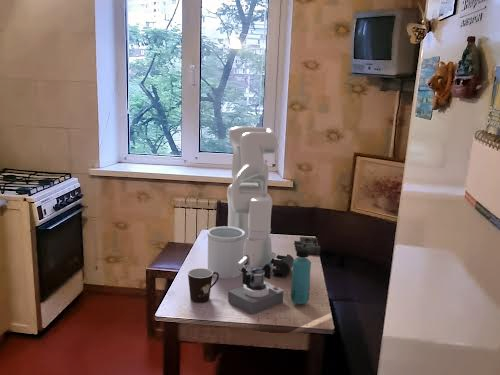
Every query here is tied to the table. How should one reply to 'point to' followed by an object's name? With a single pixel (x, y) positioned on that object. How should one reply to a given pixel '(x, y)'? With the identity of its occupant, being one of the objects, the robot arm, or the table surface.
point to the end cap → (283, 265)
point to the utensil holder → (225, 251)
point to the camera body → (255, 298)
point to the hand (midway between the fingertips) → (256, 281)
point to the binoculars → (308, 245)
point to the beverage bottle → (301, 277)
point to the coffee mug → (200, 284)
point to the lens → (257, 278)
